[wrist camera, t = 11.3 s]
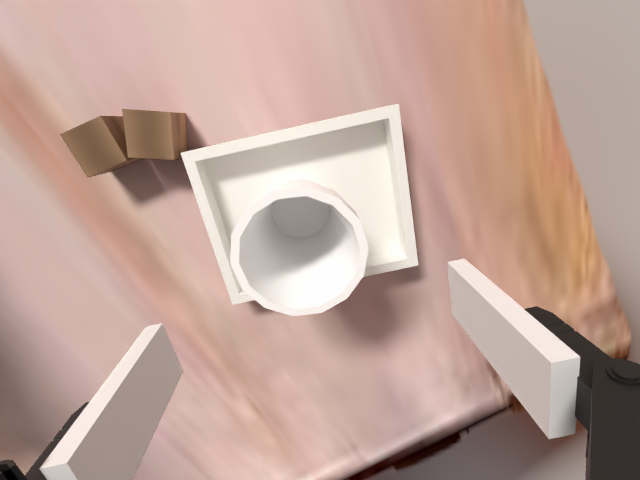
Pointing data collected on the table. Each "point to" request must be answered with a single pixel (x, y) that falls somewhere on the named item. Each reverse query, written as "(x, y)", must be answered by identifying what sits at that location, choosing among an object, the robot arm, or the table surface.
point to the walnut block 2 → (155, 134)
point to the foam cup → (299, 248)
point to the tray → (318, 166)
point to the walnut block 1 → (99, 145)
